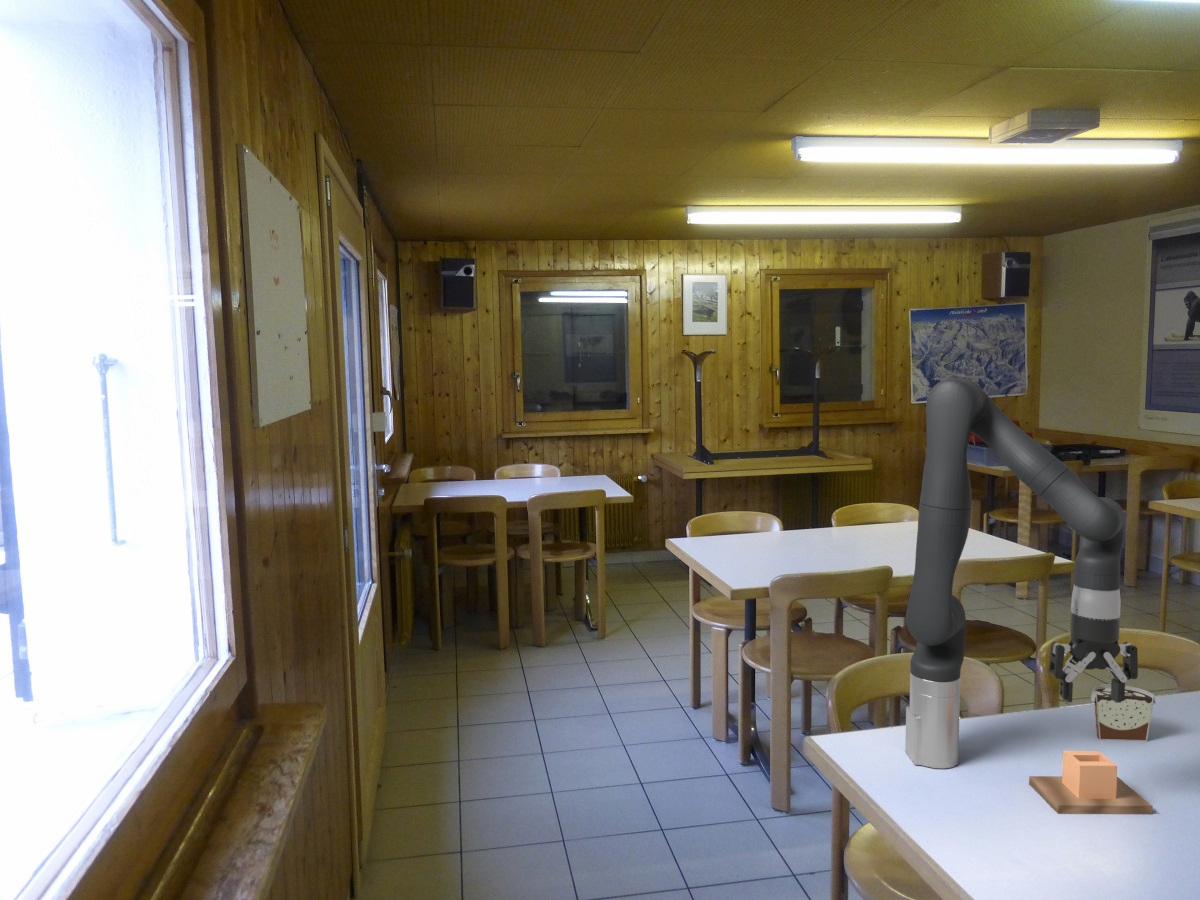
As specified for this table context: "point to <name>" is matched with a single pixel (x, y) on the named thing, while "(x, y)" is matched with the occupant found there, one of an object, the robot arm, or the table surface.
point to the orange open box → (1089, 774)
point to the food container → (1122, 714)
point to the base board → (1071, 804)
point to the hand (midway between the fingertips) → (1091, 701)
